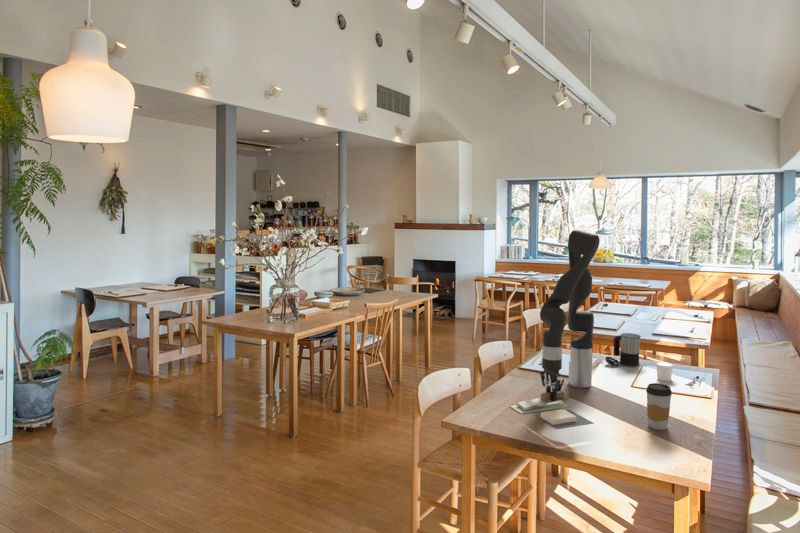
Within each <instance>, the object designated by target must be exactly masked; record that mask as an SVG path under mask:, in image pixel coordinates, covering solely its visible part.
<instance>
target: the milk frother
mask: <svg viewBox="0 0 800 533" xmlns="http://www.w3.org/2000/svg"><path fill="white" fill-rule="evenodd" d="M641 337H642V336H641V335H640V334H638V333H633V332H632V333H631V332H630V333H629V332H625V333H621V334H619V335H616V336H615V337H614V338H613V355H614V356H616V357H617V356H620V357H619V360H618V359H616V358H614V357H612V356H606V357H605V358H604V360H605V362H606V363H607V364H609V365H610V366H611V367H619V366H620V365H622V366H625V367H639V365H640V349H641V348H640V346H641Z"/></svg>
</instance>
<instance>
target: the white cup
mask: <svg viewBox="0 0 800 533" xmlns="http://www.w3.org/2000/svg"><path fill="white" fill-rule="evenodd" d="M673 368H674V364H672V363H670V362H664V361H659V362H656V378H657V380H659V379H660V381H664V380H665V381H667V382H669V381H672V375H673ZM665 381H664V382H665Z"/></svg>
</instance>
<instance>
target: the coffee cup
mask: <svg viewBox="0 0 800 533" xmlns="http://www.w3.org/2000/svg"><path fill="white" fill-rule="evenodd" d="M645 392H646V411H647V414H646V416H647V425H648V427H649V428H650V429H652V430H656V431H665V430H666V429H667V428H668V424H669V418H670V409H671V399H672V390H671V386H670V385H667V384H664V383H655V382H653V383H649V384H648V385H647V387H646V391H645Z"/></svg>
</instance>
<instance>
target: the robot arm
mask: <svg viewBox="0 0 800 533" xmlns="http://www.w3.org/2000/svg"><path fill="white" fill-rule="evenodd" d="M599 246H600V236H599V235H598V234H595V233H594V232H593V233H592V232H589V231H585V230H581V229H573V230H572V231H571V232H570V234H569V236H568V239H567V251H568V262H569V263H568V264H569V265H568V267H569V270H567V271H566V272H564V273H563V274H562V275H561V276H560V277H559V279H558V280H557V283H556V284H555V287H554V289H553V292H552V294H551V295H550V296H549V297H548V298H547V300H546V301H545V302H544V304H543V305H542V307H541V308H540V312H539V318H540V321H541V322H543V323H544V324H545V323H546V324H549V325H550V326H549V329H547V330H544V331H543V334H542V335H543V336H542V348H541V349H542V350H541V351H542V352H541V368H542V369H543V370H540V371H539V375H540V380H541V384H542V387H544V389H545V393H548V392H551V401H556V396H557V391H560V390H562V387H563V385H564V381H565V380H564V378H561V377H560V375H561V374H560V370H562V368H563V366H562V365H563V362H562V361H563V348H562V336H563V333H564V330H565V326H566V322H567V326H568V329H569V331H571V332H578V333H579V332H580V333H584V334H583V335H581V336H578V337H575V338H573V339H571V340H570V354H569V356H570V358H569V362H568V383H569V385H570V386H572V387H575V388H582V389H583V388H585V389H586V388H591V387H592V376H593V337H594V335H593V333H594V322H595V317H594V313H593V312H592V311H590V310H578V309H579V307H580V306H581V305H582V303H583V302H585V301H586V300H587V298H588V297H589V296H590V295H591V293H592V290H593V276H592V274H591V271H590V270H589V268H588V267H589V265H590V263H591V262H592V260H593V259H594V257H595V256H596V253H597V251H598V249H599ZM566 304H568V311H567V312H568V313H567V314H566V312H565V310H564V309H563V308H560V307H561V306H563V305H566Z"/></svg>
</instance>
